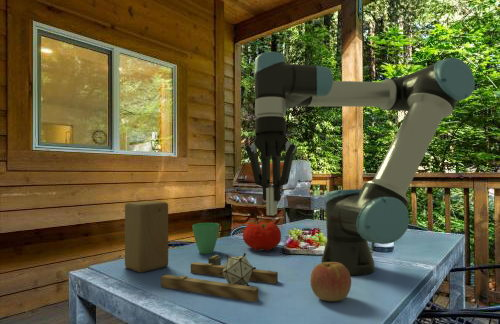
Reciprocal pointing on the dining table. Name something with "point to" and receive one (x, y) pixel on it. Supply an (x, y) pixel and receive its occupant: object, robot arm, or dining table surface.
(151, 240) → the wooden block
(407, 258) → the dining table surface
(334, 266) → the apple
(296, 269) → the dining table surface
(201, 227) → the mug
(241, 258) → the game die
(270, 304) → the dining table surface
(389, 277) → the dining table surface
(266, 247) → the tomato
